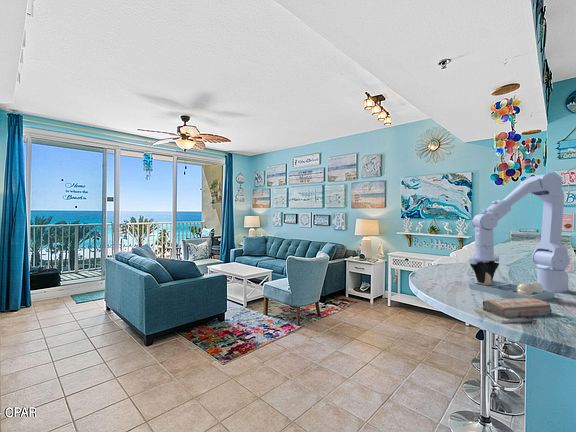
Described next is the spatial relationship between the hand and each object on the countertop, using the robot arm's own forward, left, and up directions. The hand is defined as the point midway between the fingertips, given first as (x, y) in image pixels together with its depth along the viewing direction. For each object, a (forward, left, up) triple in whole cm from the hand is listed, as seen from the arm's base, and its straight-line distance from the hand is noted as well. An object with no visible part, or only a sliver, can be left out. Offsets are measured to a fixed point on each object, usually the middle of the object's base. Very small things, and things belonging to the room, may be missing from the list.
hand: (484, 281), depth 106 cm
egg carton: (-3, +6, -4) cm, 8 cm away
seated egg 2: (-6, +13, -3) cm, 15 cm away
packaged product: (+18, +19, -5) cm, 27 cm away
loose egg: (0, 0, -1) cm, 1 cm away
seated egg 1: (0, +13, -3) cm, 13 cm away
